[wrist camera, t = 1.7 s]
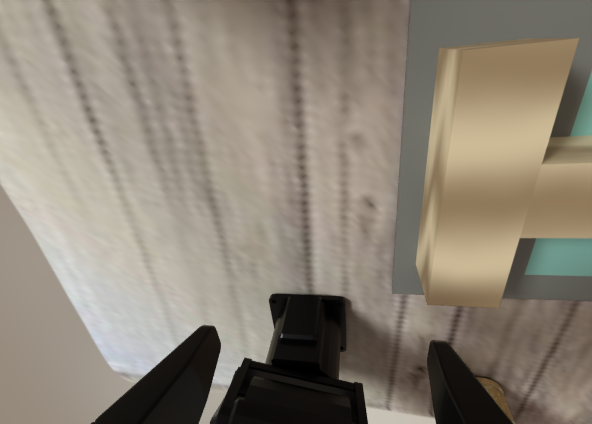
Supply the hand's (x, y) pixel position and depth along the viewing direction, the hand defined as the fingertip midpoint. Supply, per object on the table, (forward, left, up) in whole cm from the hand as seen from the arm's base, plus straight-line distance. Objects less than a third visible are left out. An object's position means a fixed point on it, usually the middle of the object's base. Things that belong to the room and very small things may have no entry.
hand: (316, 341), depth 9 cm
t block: (0, -12, -13) cm, 17 cm away
